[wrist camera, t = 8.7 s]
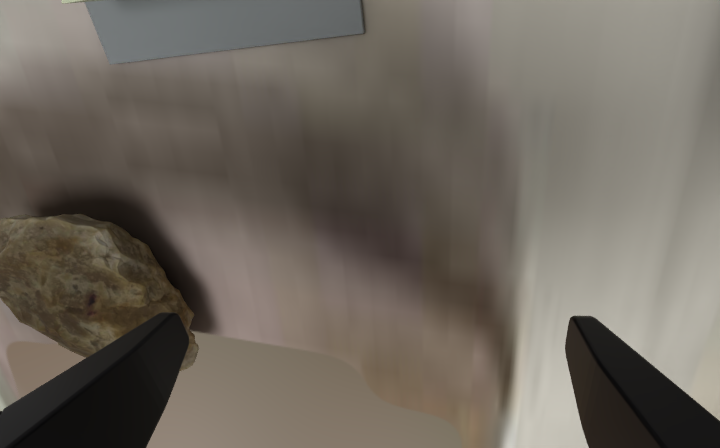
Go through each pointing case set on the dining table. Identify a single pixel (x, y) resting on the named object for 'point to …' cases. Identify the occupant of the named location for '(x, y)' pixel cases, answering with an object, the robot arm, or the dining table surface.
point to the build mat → (215, 25)
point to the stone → (83, 281)
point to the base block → (75, 0)
